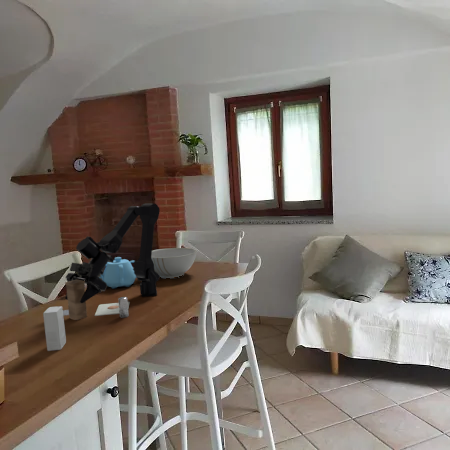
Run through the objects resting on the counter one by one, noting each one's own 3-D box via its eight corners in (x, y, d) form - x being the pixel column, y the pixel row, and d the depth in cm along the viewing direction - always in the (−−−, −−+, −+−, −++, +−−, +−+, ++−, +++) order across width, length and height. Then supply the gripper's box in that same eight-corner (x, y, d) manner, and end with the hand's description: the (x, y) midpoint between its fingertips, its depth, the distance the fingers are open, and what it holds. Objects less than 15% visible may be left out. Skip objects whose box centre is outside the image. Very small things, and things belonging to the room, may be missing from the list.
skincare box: (52, 343, 140) (48, 306, 139) (66, 342, 140) (62, 305, 139) (46, 351, 134) (42, 312, 133) (61, 350, 134) (57, 311, 133)
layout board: (129, 302, 182) (129, 301, 182) (127, 315, 166) (127, 313, 165) (64, 308, 178) (64, 307, 178) (55, 322, 162) (55, 320, 162)
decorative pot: (95, 288, 209) (92, 259, 208) (119, 280, 223) (117, 253, 221) (120, 291, 201) (118, 261, 199) (144, 282, 215) (142, 255, 213)
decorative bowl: (146, 284, 211) (145, 259, 209) (143, 273, 237) (141, 250, 235) (202, 278, 217) (200, 254, 215) (193, 268, 243) (191, 246, 241)
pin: (128, 314, 166) (127, 296, 165) (128, 317, 162) (127, 298, 162) (120, 315, 165) (118, 297, 164) (119, 318, 162) (118, 299, 161)
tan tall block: (80, 314, 169) (76, 279, 167) (88, 316, 165) (84, 280, 164) (68, 318, 165) (64, 282, 163) (76, 320, 162) (72, 283, 160)
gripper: (67, 252, 171) (43, 286, 164) (97, 255, 160) (73, 292, 152) (86, 268, 178) (64, 301, 171) (116, 272, 167) (94, 309, 160)
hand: (73, 301), depth 163 cm, fingers open, 9 cm apart
